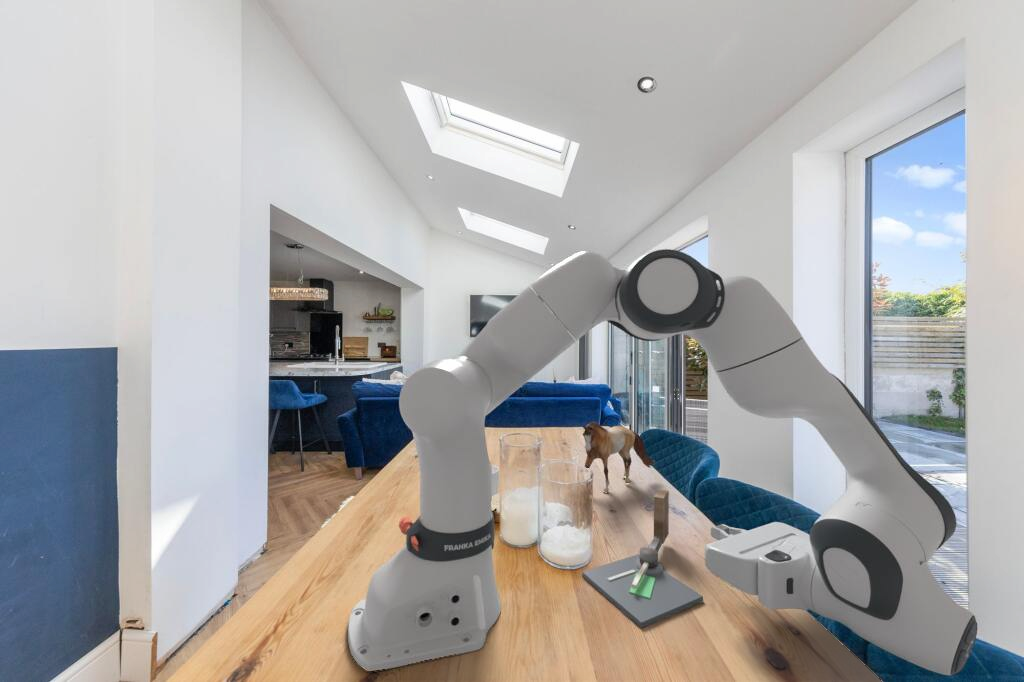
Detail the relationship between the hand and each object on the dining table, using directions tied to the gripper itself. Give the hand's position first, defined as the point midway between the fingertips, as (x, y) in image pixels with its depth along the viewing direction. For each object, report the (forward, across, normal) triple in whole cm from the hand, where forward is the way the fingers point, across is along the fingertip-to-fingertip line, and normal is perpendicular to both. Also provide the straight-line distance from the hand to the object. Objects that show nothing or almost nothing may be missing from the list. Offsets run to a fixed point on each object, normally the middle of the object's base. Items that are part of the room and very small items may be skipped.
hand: (716, 529), depth 68 cm
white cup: (+45, +26, +9) cm, 53 cm away
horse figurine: (+40, -15, +9) cm, 44 cm away
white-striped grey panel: (+4, +14, +9) cm, 17 cm away
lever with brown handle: (+8, +8, +7) cm, 13 cm away
